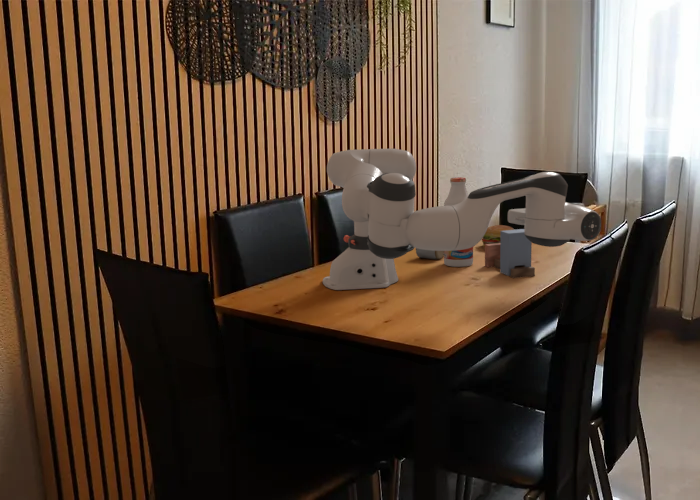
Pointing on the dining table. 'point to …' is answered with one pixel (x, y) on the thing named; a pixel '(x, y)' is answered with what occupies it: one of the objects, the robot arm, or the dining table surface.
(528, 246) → the block
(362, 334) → the dining table surface
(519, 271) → the rail
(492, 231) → the food
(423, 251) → the ceramic mug
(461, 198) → the fruit juice
